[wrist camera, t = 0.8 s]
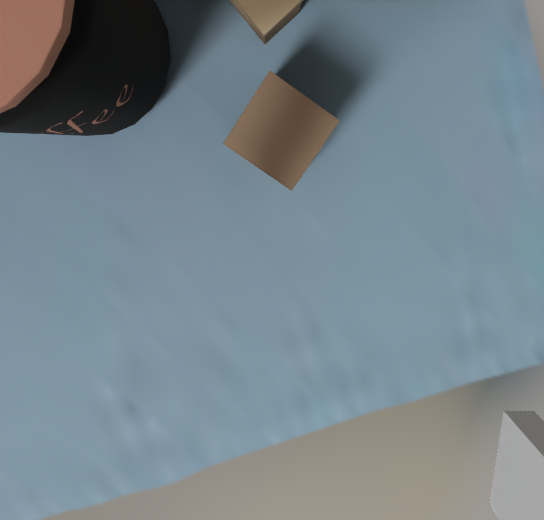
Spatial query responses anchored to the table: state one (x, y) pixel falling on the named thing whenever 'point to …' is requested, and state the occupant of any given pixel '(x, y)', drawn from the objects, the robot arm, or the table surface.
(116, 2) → the coffee jar
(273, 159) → the cargo block
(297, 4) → the pallet dock
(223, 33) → the table surface
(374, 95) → the table surface
